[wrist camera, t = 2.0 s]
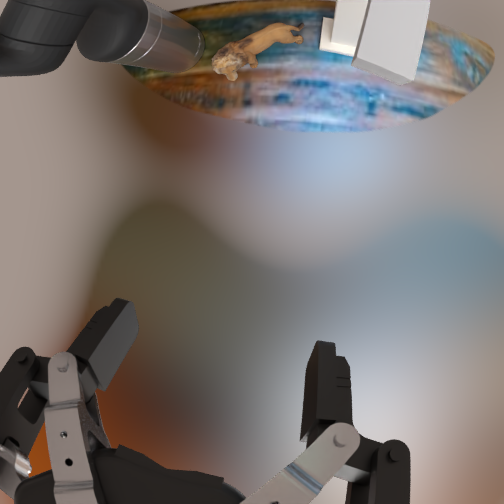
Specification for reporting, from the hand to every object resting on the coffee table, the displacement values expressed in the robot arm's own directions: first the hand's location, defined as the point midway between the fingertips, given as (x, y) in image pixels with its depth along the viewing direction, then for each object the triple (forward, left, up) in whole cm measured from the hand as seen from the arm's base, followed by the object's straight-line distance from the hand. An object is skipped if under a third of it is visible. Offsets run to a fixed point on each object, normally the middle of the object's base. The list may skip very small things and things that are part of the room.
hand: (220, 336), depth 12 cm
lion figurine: (-7, +18, -37) cm, 42 cm away
